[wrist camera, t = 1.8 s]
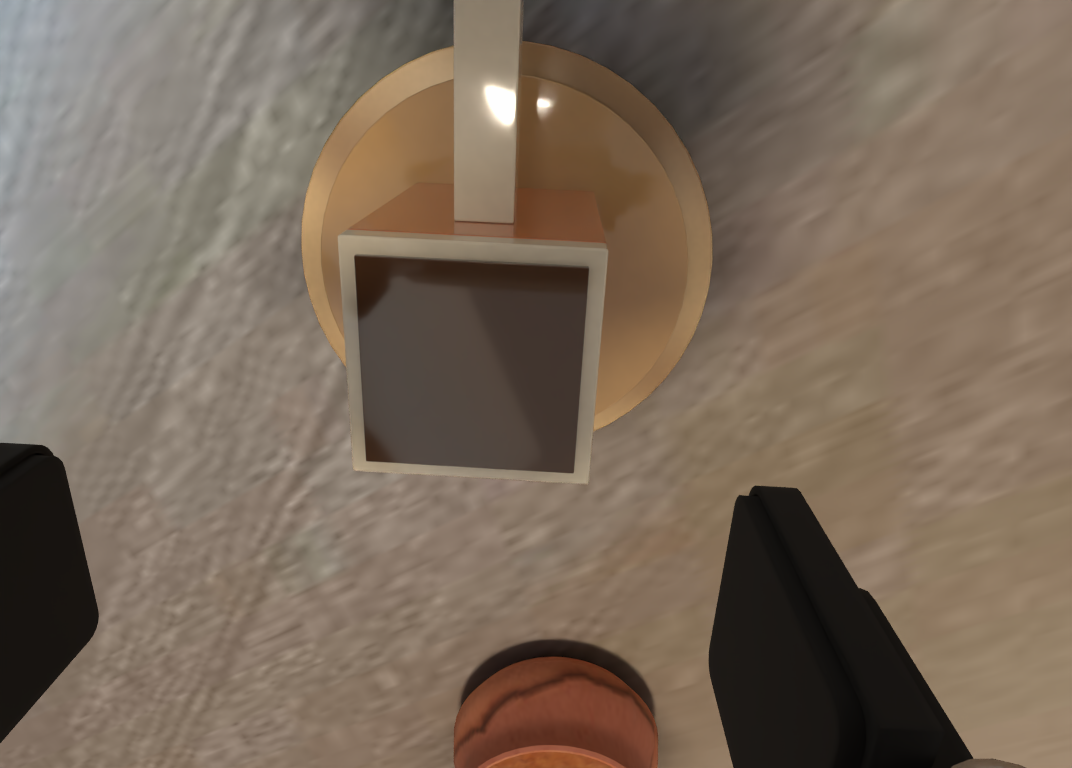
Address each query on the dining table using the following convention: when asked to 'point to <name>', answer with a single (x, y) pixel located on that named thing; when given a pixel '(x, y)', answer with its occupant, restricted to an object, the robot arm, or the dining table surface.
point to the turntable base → (570, 73)
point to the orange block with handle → (497, 268)
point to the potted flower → (554, 719)
